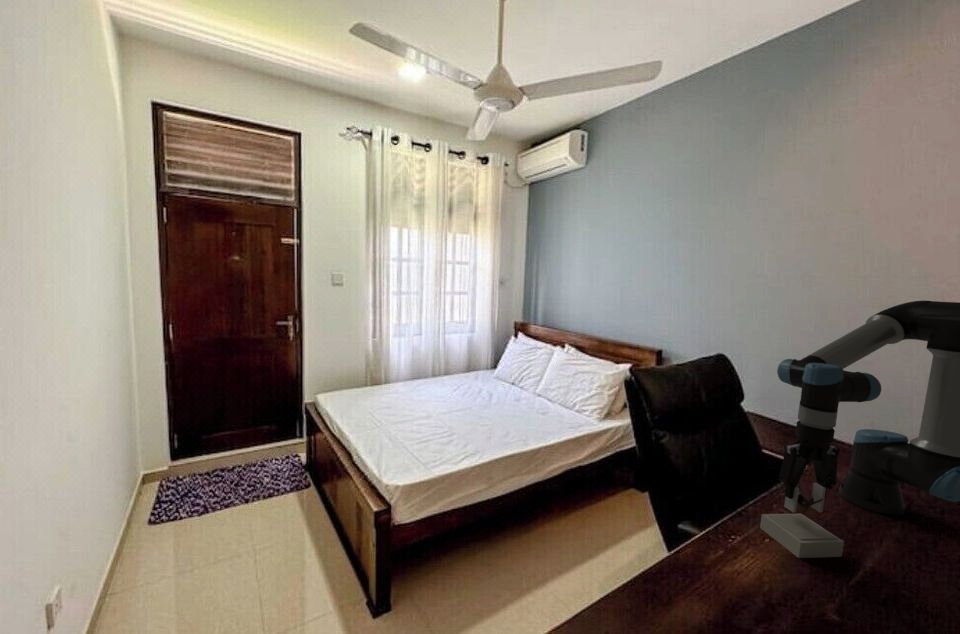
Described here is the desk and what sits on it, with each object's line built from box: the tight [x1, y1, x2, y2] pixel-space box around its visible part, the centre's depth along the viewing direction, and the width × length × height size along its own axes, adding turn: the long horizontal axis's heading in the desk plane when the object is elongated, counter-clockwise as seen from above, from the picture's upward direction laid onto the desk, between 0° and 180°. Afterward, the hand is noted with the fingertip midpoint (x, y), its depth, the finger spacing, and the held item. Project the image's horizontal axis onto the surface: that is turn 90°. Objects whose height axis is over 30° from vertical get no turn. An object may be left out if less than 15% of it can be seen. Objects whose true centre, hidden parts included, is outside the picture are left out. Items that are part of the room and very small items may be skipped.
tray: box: [759, 513, 845, 559], centre depth 107 cm, size 12×12×4 cm
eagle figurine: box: [776, 481, 823, 514], centre depth 108 cm, size 8×7×9 cm
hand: (803, 509), depth 106 cm, fingers closed on eagle figurine, 7 cm apart
